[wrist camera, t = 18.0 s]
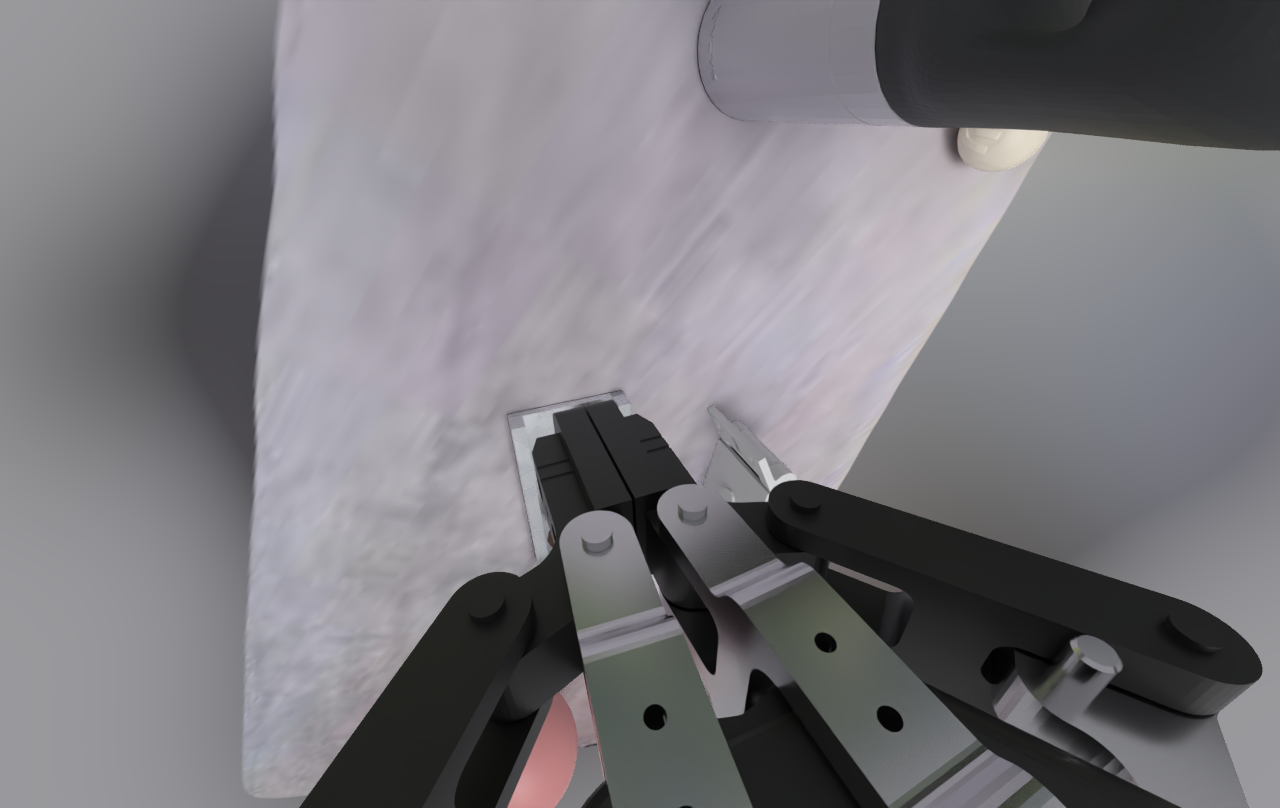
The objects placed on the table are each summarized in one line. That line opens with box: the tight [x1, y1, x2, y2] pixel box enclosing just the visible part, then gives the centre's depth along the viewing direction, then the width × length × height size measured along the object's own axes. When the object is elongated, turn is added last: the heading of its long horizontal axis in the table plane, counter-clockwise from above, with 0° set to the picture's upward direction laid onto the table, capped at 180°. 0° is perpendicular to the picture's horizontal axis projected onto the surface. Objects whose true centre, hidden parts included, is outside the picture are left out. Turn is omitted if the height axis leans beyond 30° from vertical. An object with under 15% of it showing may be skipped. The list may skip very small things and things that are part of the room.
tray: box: [507, 390, 631, 565], centre depth 49 cm, size 11×19×4 cm, turn 1°
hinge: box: [703, 405, 797, 502], centre depth 53 cm, size 14×5×10 cm, turn 0°
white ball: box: [957, 128, 1049, 172], centre depth 44 cm, size 7×7×7 cm
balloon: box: [507, 692, 578, 808], centre depth 57 cm, size 15×20×15 cm
